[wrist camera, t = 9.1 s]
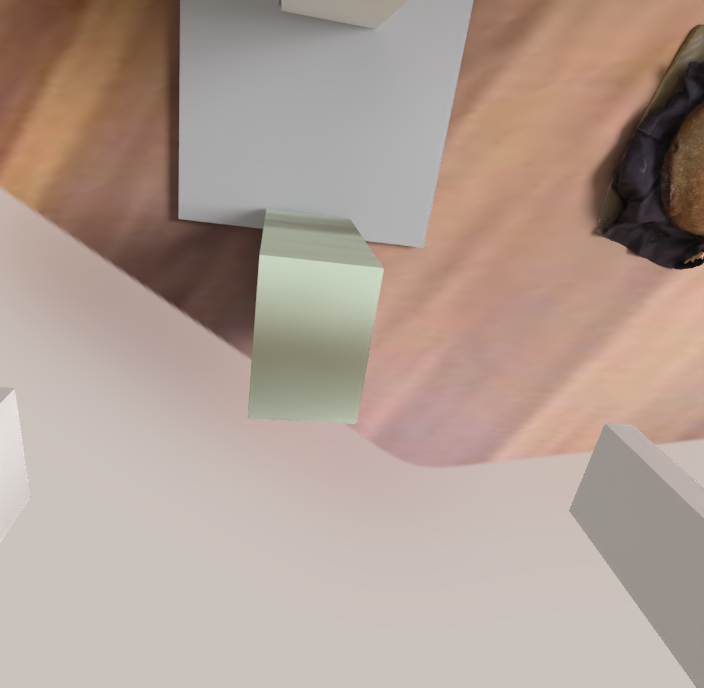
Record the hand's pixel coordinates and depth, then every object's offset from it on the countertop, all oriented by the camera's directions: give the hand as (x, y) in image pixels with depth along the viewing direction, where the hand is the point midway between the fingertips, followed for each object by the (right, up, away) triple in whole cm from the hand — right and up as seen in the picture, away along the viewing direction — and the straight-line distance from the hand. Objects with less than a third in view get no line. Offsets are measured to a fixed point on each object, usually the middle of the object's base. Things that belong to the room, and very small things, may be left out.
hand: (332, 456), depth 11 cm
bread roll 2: (+18, +13, +15) cm, 27 cm away
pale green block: (-2, +6, +14) cm, 15 cm away
